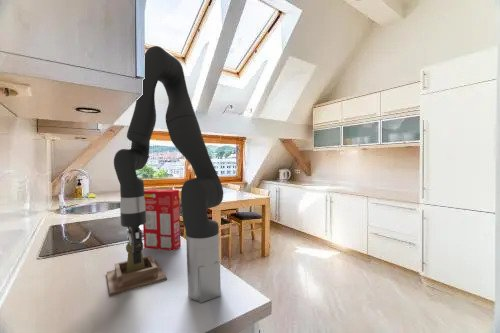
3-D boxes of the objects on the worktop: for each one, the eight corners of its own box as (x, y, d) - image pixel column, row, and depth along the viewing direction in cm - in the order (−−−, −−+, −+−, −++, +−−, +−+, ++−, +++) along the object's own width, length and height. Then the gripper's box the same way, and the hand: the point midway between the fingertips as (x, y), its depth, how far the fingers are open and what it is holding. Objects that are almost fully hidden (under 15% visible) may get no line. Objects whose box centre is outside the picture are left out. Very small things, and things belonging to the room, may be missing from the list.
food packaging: (180, 245, 109) (178, 189, 108) (174, 250, 104) (172, 191, 103) (151, 243, 112) (149, 189, 111) (144, 247, 107) (141, 191, 106)
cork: (121, 276, 80) (120, 243, 79) (138, 268, 85) (136, 237, 85) (133, 280, 77) (132, 246, 77) (149, 272, 82) (148, 240, 82)
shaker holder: (167, 279, 79) (166, 267, 79) (109, 295, 70) (109, 282, 70) (155, 262, 92) (155, 252, 92) (106, 274, 83) (106, 263, 83)
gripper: (149, 212, 76) (151, 263, 77) (141, 205, 88) (143, 249, 89) (122, 215, 72) (125, 269, 73) (118, 208, 84) (120, 254, 85)
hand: (135, 258), depth 81 cm, fingers open, 8 cm apart
